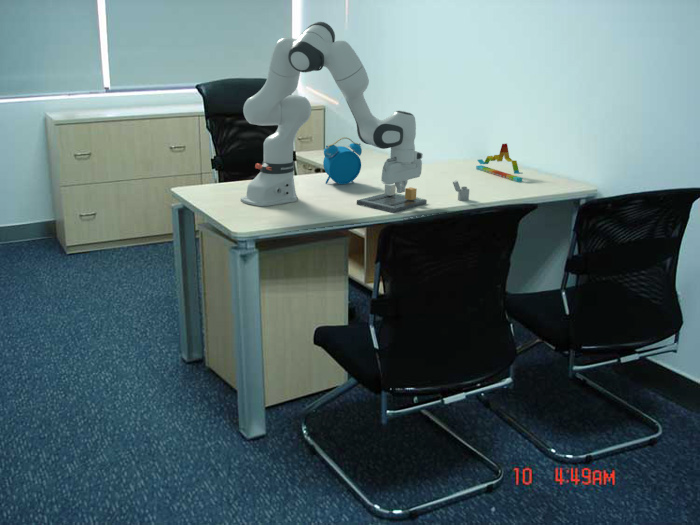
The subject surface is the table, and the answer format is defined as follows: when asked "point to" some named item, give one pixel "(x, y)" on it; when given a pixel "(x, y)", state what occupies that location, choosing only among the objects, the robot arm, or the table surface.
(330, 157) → the alarm clock
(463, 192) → the lighter
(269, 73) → the robot arm
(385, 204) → the dark grey tray
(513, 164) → the chart
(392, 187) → the white small block
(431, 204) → the table surface
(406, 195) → the orange wooden block
